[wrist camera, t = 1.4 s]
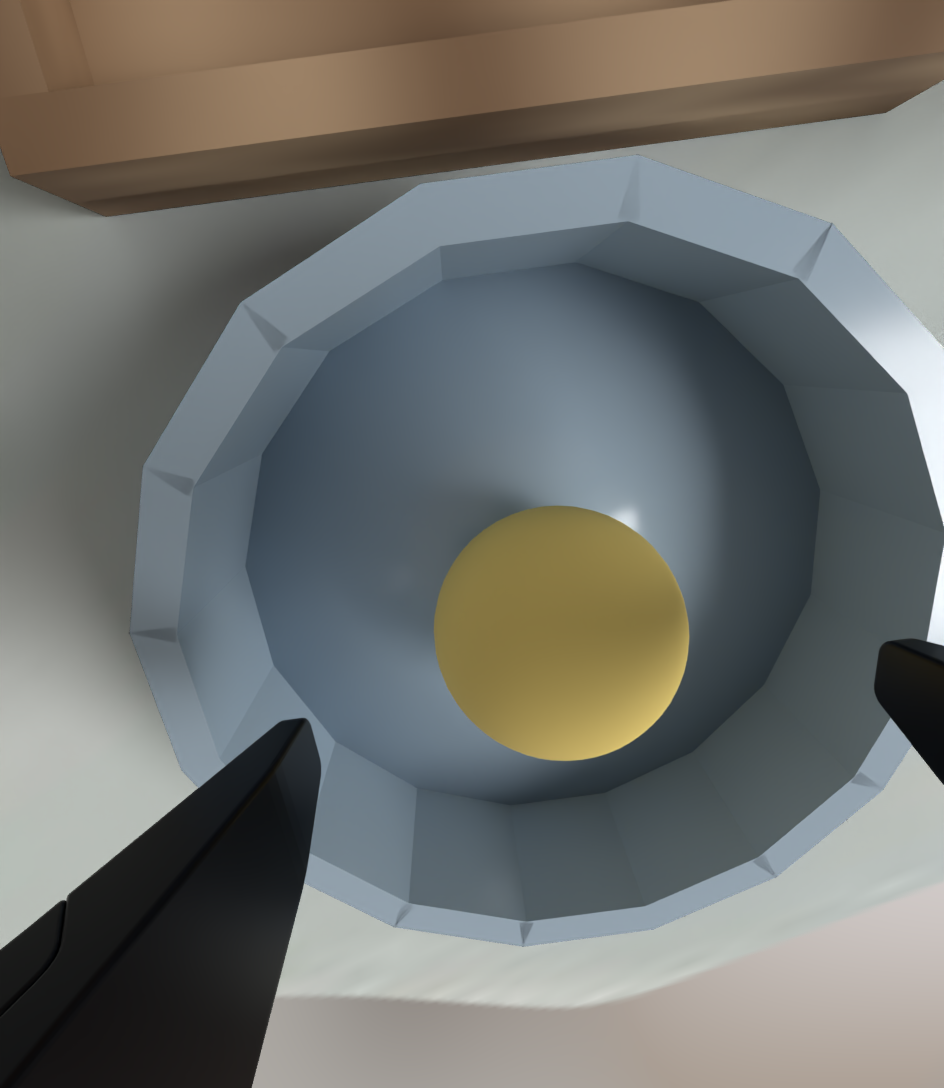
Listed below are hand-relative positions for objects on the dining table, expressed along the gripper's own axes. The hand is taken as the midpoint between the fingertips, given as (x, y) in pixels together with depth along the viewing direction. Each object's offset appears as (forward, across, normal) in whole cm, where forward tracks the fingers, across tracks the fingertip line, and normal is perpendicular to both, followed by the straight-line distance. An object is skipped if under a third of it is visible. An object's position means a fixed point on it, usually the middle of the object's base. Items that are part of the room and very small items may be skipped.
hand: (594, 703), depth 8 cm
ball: (+5, 0, 0) cm, 5 cm away
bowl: (+6, 0, 0) cm, 6 cm away
